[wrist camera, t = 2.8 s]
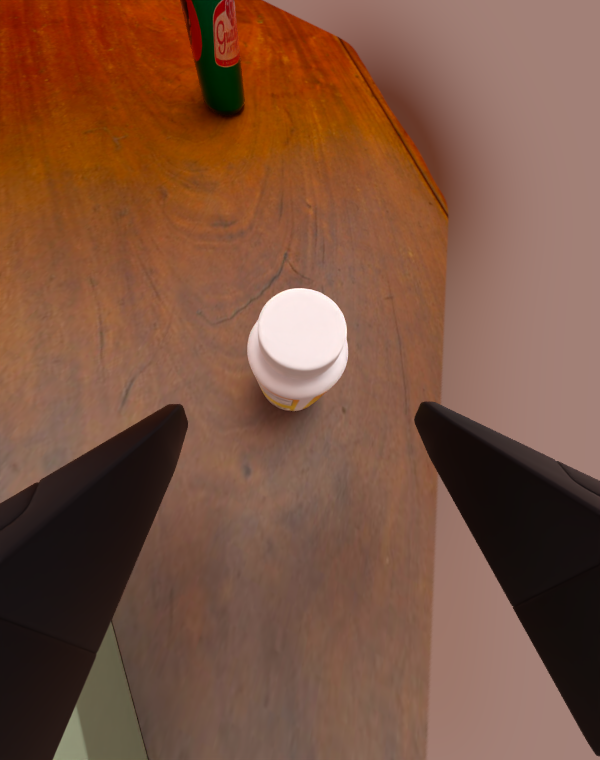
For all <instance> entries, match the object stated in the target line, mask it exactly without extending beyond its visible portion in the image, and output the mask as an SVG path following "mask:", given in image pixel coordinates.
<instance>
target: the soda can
mask: <svg viewBox="0 0 600 760" xmlns="http://www.w3.org/2000/svg"><path fill="white" fill-rule="evenodd" d="M180 1H181V6H182V10H183V14H184V19H185V23H186V27H187V32H188V36H189V40H190V45H191V49H192V53H193V57H194V62H195V66H196V70H197V75H198V79H199V83H200V88H201V92H202V96H203V100H204V102H205V103H206V104H207V106H208V107H209V108H210V109H211V110H212V111H213V112H215V113H217V114H220V115H234V114H236V113H238V112H239V111H240V110H241V109H242V106H243V104H244V101H245V97H244V88H243V79H242V69H241V60H240V51H239V41H238V32H237V23H236V13H235V4H234V0H180Z"/></svg>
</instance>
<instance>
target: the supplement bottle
mask: <svg viewBox="0 0 600 760" xmlns="http://www.w3.org/2000/svg"><path fill="white" fill-rule="evenodd" d="M346 335H347V328H346V322H345V319H344V316H343V314H342V312H341V310H340V309H339V307H338V306H337V305H336V304H335V303H334V302H333V301H332V300H331V299H330V298H328V297H327V296H325V295H324V294H322V293H320V292H317V291H314V290H311V289H304V288H295V289H289V290H286V291H283V292H281V293H279V294H277V295H275V296H274V297H272V298H271V299H270V300H269V301H268V302H267V303H266V305H265V306H264V307H263V309H262V311H261V313H260V316H259V320H258V321H257V322H256V324H255V325H254V327H253V328H252V330H251V333H250V336H249V339H248V345H247V354H248V360H249V364H250V367H251V370H252V372H253V374H254V376H255V378H256V380H257V382H258V384H259V386H260V388H261V390H262V392H263V394H264V396H265V397H266V398H267V400H268V401H269V402H270V403H271V404H273V405H274V406H275V407H277V408H279V409H282V410H286V411H299V410H302V409H305V408H307V407H309V406H310V405H312V404H313V403H314V402H315V401H316V400H318V399H319V398H320V397H321V396H322V395H323V394H325V393H326V392H327V391H328V390H329V389H330V388H331V387H333V386H334V384H335V383H336V382H337V381H338V380H339V378H340V377H341V375H342V374H343V372H344V370H345V367H346V364H347V359H348V344H347V340H346Z"/></svg>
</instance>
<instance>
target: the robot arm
mask: <svg viewBox="0 0 600 760" xmlns="http://www.w3.org/2000/svg"><path fill="white" fill-rule="evenodd" d="M414 421H415V425H416V427H417V429H418V432H419V434H420V436H421V439H422V441H423V443H424V446H425V448H426V450H427V453H428V455H429V457H430V459H431V461H432V463H433V465H434V466H435V468H436V470H437V472H438V474H439V475H440V477H441V479H442V481H443V482H444V484H445V486H446V488H447V489H448V492H449V493H450V495H451V497H452V499H453V501H454V502H455V504H456V506H457V507H458V510H459V511H460V513H461V515H462V517H463V519H464V520H465V522H466V524H467V526H468V528H469V529H470V531H471V533H472V535H473V537H474V538H475V540H476V542H477V544H478V546H479V547H480V549H481V551H482V553H483V554H484V556H485V558H486V560H487V562H488V563H489V565H490V567H491V569H492V571H493V573H494V574H495V576H496V578H497V580H498V582H499V583H500V585H501V587H502V589H503V591H504V592H505V594H506V596H507V598H508V600H509V601H510V603H511V605H512V606H513V609H514V611H515V612H516V614H517V616H518V618H519V620H520V622H521V623H522V625H523V627H524V629H525V631H526V632H527V634H528V636H529V638H530V639H531V641H532V643H533V645H534V647H535V649H536V651H537V652H538V654H539V656H540V658H541V659H542V661H543V663H544V665H545V667H546V669H547V670H548V672H549V674H550V676H551V677H552V679H553V681H554V683H555V685H556V687H557V688H558V690H559V692H560V694H561V696H562V697H563V699H564V701H565V703H566V705H567V706H568V708H569V710H570V712H571V714H572V715H573V717H574V719H575V721H576V723H577V724H578V726H579V728H580V730H581V732H582V733H583V735H584V737H585V739H586V740H587V742H588V744H589V745H590V747H591V748H592V750H593V751H594V753H595V754H596V755H597V756H600V481H599V480H597V479H595V478H592V477H591V476H588V475H586V474H584V473H582V472H580V471H578V470H575V469H573V468H571V467H569V466H567V465H565V464H563V463H561V462H559V461H555V460H554V459H552V458H550V457H548V456H546V455H544V454H542V453H540V452H538V451H535V450H534V449H532V448H529V447H527V446H525V445H523V444H521V443H519V442H517V441H515V440H513V439H511V438H509V437H506V436H504V435H502V434H500V433H498V432H496V431H494V430H492V429H490V428H488V427H486V426H483V425H481V424H479V423H477V422H475V421H473V420H471V419H469V418H467V417H465V416H462V415H461V414H458V413H456V412H454V411H452V410H450V409H448V408H446V407H444V406H442V405H440V404H438V403H435V402H422V403H421V404H420V406H419V409H418V411H417V413H416V415H415V419H414ZM187 428H188V421H187V418H186V414H185V411H184V408H183V406H182V405H180V404H169V405H167V406H165V407H163V408H162V409H160V410H158V411H157V412H155V413H153V414H151V415H150V416H148V417H146V418H145V419H143V420H141V421H140V422H138V423H136V424H135V425H133V426H131V427H129V428H128V429H126V430H124V431H123V432H121V433H119V434H118V435H116V436H114V437H112V438H111V439H109V440H107V441H106V442H104V443H102V444H101V445H99V446H97V447H96V448H94V449H92V450H90V451H89V452H87V453H85V454H84V455H82V456H80V457H79V458H77V459H75V460H74V461H72V462H70V463H68V464H67V465H65V466H63V467H62V468H60V469H58V470H57V471H55V472H53V473H51V474H50V475H48V476H46V477H45V478H43V479H41V480H40V482H39V483H34V484H33V485H31V486H29V487H28V488H26V489H24V490H23V491H21V492H19V493H18V494H16V495H14V496H12V497H11V498H9V499H7V500H6V501H4V502H2V503H0V760H53V758H54V756H55V753H56V751H57V749H58V746H59V744H60V741H61V739H62V737H63V734H64V732H65V730H66V727H67V725H68V723H69V720H70V718H71V715H72V713H73V711H74V708H75V706H76V704H77V701H78V699H79V696H80V694H81V692H82V689H83V687H84V685H85V682H86V680H87V677H88V675H89V673H90V670H91V668H92V666H93V663H94V661H95V659H96V656H97V654H96V653H97V652H98V651H99V648H100V646H101V644H102V641H103V639H104V637H105V634H106V632H107V630H108V627H109V625H110V622H111V620H112V618H113V615H114V613H115V611H116V608H117V606H118V603H119V601H120V599H121V596H122V594H123V592H124V589H125V587H126V584H127V582H128V580H129V577H130V575H131V573H132V570H133V568H134V566H135V563H136V561H137V558H138V556H139V554H140V551H141V549H142V547H143V544H144V542H145V539H146V537H147V535H148V532H149V530H150V528H151V525H152V523H153V521H154V518H155V516H156V513H157V511H158V509H159V506H160V504H161V502H162V499H163V497H164V494H165V492H166V490H167V487H168V485H169V483H170V480H171V478H172V476H173V473H174V471H175V468H176V465H177V462H178V459H179V455H180V452H181V448H182V445H183V442H184V438H185V435H186V431H187Z"/></svg>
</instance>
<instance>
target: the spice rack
mask: <svg viewBox="0 0 600 760" xmlns="http://www.w3.org/2000/svg"><path fill="white" fill-rule="evenodd" d="M96 654H97V656H96V659H95V661H94V663H93V666H92V668H91V670H90V673H89V675H88V677H87V680H86V682H85V685H84V687H83V689H82V692H81V694H80V696H79V699H78V701H77V704H76V706H75V708H74V711H73V713H72V715H71V718H70V720H69V723H68V725H67V727H66V730H65V732H64V734H63V737H62V739H61V741H60V744H59V746H58V749H57V751H56V753H55V756H54V758H53V760H148V758H147V754H146V751H145V747H144V743H143V739H142V736H141V732H140V728H139V724H138V721H137V717H136V713H135V709H134V705H133V702H132V698H131V694H130V690H129V687H128V683H127V679H126V675H125V672H124V668H123V664H122V660H121V656H120V653H119V649H118V645H117V641H116V638H115V634H114V630H113V626H112V623H111V622H110V625H109V627H108V630H107V632H106V634H105V637H104V639H103V641H102V644H101V646H100V648H99V651H98V652H97V653H96Z"/></svg>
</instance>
